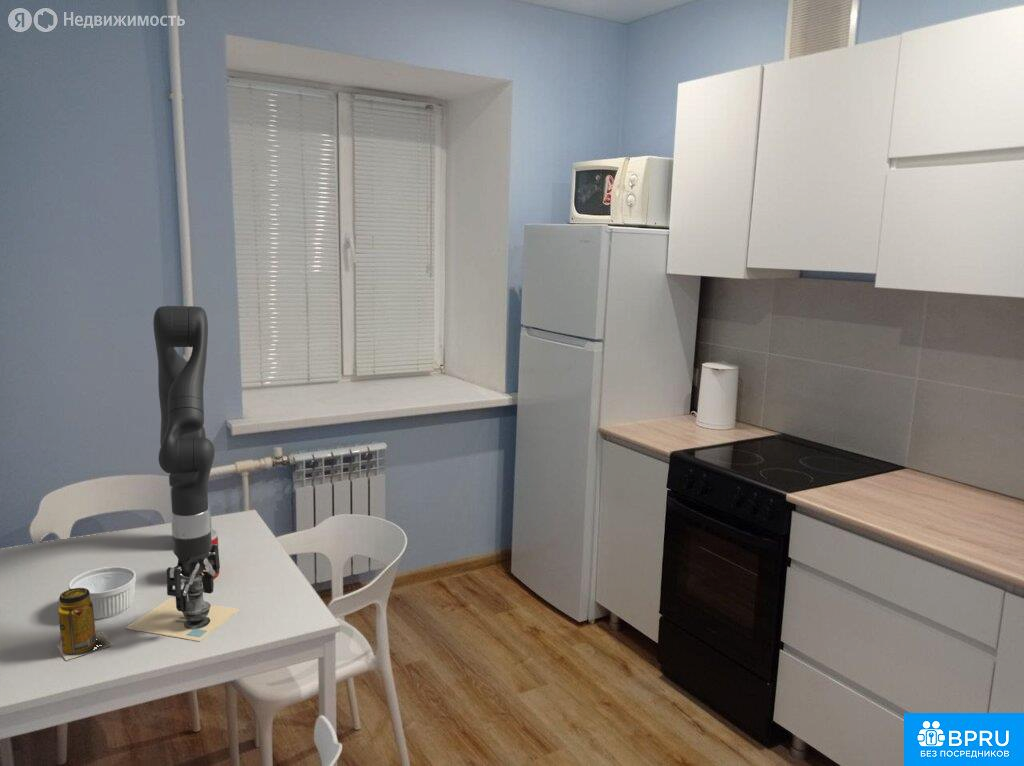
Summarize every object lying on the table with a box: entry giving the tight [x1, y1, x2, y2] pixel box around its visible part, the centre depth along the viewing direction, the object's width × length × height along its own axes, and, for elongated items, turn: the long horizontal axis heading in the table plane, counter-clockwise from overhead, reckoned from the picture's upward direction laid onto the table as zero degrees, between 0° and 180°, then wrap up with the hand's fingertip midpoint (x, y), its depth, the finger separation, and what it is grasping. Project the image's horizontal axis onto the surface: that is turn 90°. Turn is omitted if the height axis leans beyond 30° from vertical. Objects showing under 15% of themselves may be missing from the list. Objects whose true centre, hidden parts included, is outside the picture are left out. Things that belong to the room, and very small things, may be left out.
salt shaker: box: [182, 575, 212, 629], centre depth 161 cm, size 6×6×12 cm
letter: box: [125, 597, 240, 642], centre depth 164 cm, size 14×18×1 cm
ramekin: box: [68, 566, 137, 620], centre depth 168 cm, size 13×13×7 cm
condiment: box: [56, 588, 113, 661], centre depth 152 cm, size 7×8×12 cm
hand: (195, 601), depth 161 cm, fingers open, 8 cm apart
